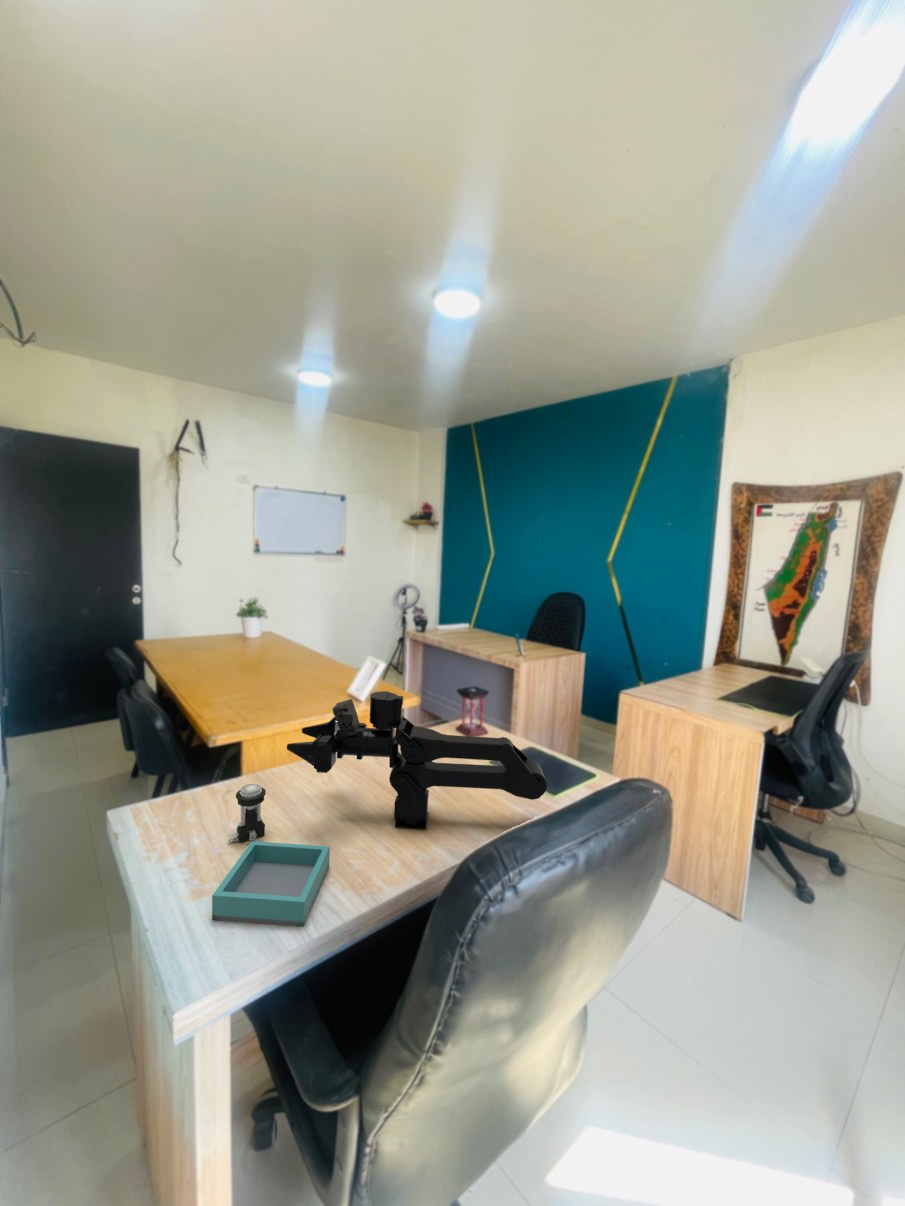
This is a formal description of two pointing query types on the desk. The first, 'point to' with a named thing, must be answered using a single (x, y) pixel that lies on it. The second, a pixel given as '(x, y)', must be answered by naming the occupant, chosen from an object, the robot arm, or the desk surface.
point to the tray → (272, 884)
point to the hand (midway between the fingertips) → (294, 738)
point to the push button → (250, 813)
